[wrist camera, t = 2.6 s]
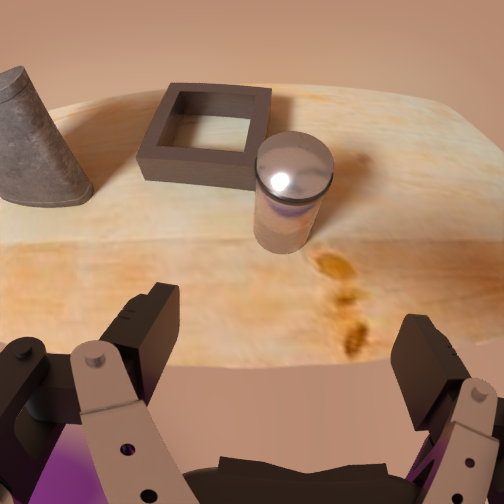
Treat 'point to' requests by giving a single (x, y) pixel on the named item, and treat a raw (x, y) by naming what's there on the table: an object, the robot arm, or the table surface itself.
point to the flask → (35, 150)
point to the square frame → (205, 160)
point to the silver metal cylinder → (289, 189)
